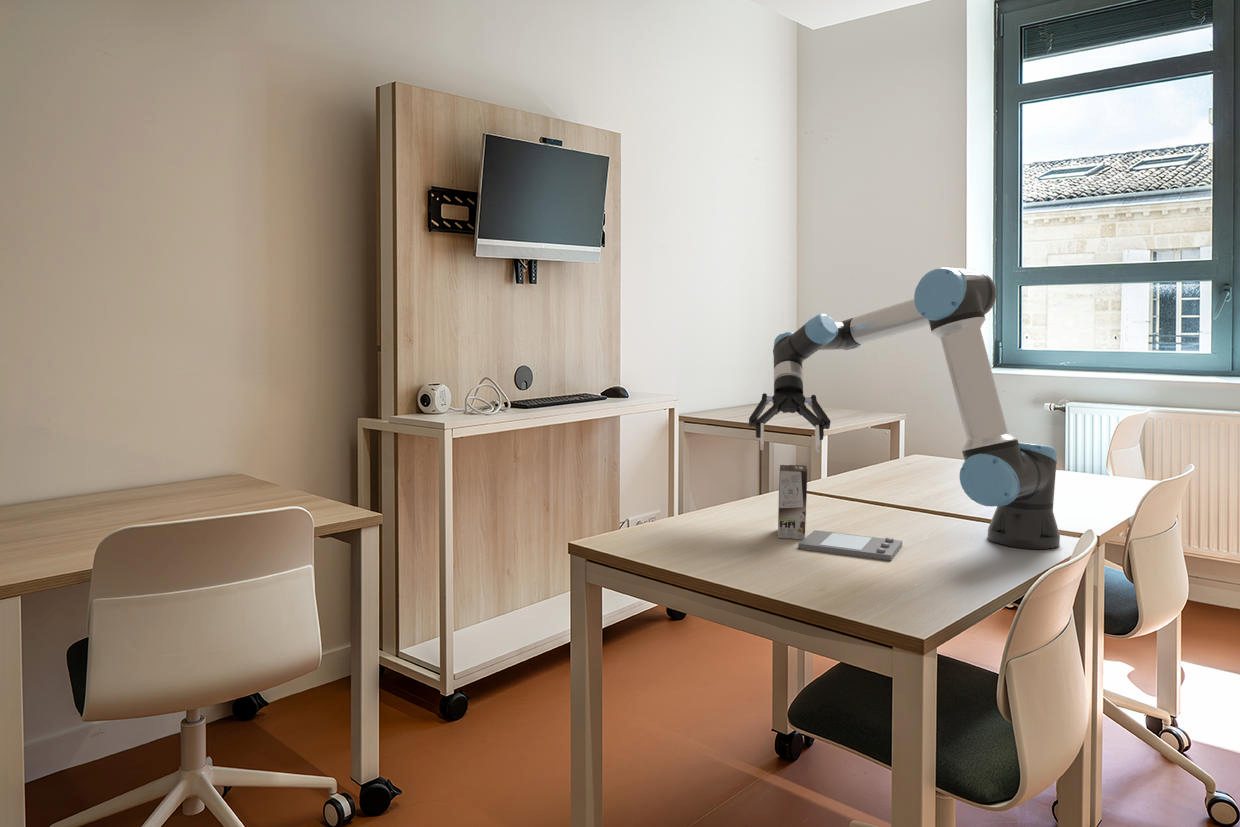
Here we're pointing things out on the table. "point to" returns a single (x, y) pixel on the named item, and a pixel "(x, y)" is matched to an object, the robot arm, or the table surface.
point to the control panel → (851, 544)
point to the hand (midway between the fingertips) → (789, 448)
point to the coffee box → (792, 501)
